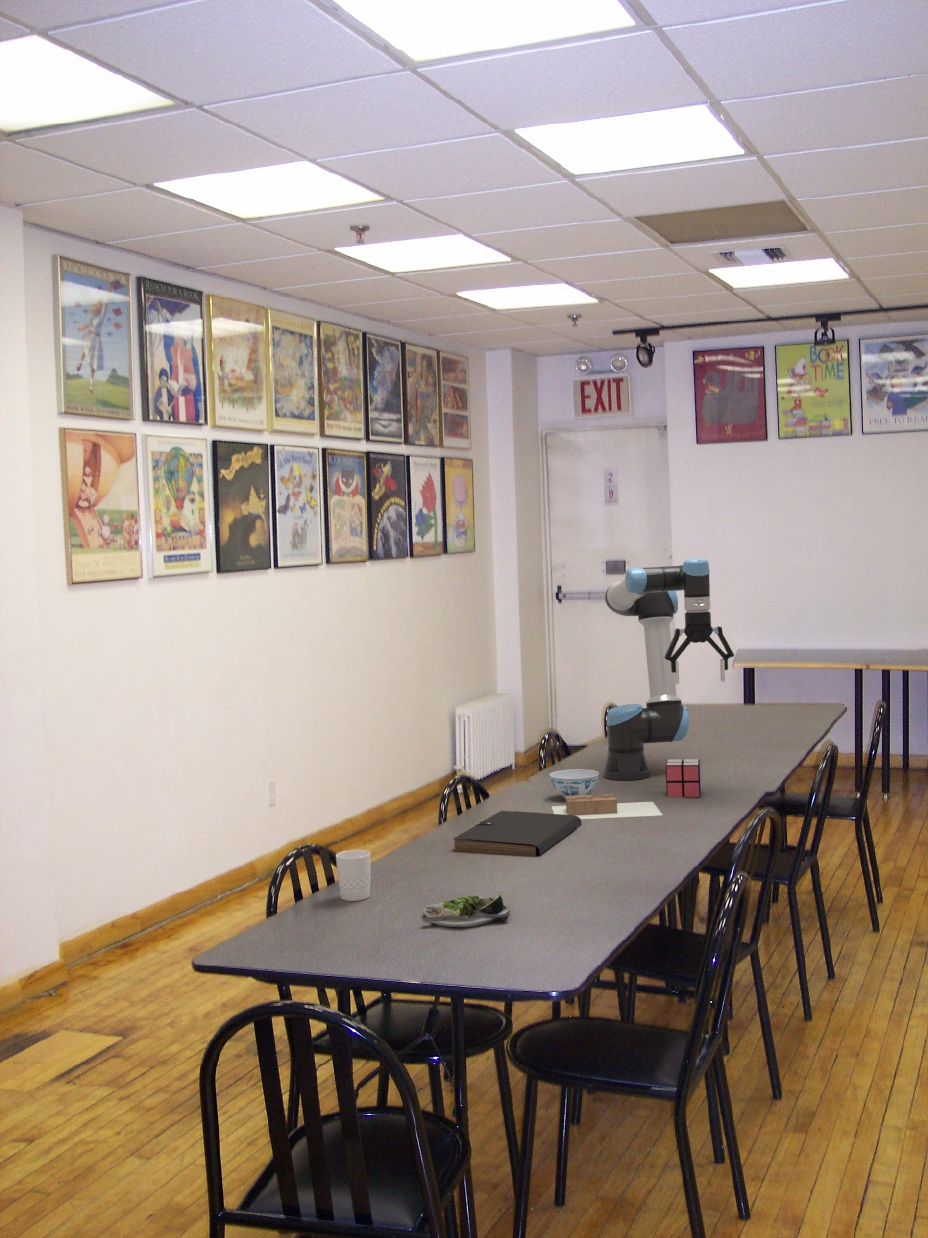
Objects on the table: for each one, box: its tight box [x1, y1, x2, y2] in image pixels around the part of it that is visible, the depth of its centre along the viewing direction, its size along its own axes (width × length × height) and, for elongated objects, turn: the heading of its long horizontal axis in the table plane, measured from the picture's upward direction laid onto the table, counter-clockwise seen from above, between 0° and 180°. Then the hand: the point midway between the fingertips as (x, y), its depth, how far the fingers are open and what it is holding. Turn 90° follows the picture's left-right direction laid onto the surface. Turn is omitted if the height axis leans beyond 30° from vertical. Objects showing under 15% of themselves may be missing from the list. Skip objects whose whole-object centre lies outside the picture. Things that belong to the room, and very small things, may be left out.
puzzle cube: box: [665, 758, 702, 798], centre depth 373 cm, size 10×10×10 cm
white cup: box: [335, 849, 372, 902], centre depth 280 cm, size 8×8×10 cm
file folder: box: [453, 810, 582, 857], centre depth 328 cm, size 33×4×24 cm
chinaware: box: [549, 768, 600, 800], centre depth 374 cm, size 15×15×8 cm
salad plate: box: [422, 894, 511, 928], centre depth 261 cm, size 19×18×5 cm
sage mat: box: [551, 801, 663, 820], centre depth 354 cm, size 18×30×1 cm, turn 90°
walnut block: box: [565, 793, 618, 815], centre depth 354 cm, size 8×4×14 cm
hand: (700, 682), depth 365 cm, fingers open, 13 cm apart
